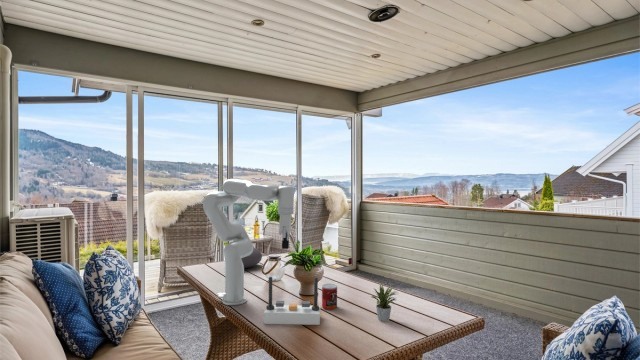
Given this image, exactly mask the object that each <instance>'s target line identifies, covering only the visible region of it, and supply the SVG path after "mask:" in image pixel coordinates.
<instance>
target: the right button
mask: <svg viewBox="0 0 640 360" xmlns="http://www.w3.org/2000/svg"><path fill="white" fill-rule="evenodd" d="M301 305H302V307H310V306H311V301H310V300H302V302H301Z"/></svg>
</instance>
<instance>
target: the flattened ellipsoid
mask: <svg viewBox="0 0 640 360" xmlns="http://www.w3.org/2000/svg"><path fill="white" fill-rule="evenodd" d="M262 259H263V254H262V252H261V250H259V249H258V248H256V247H254V246H253V251H252V253H251V254H250V255H249V256H246V257H243V258H241V260H242V262H243V265H244V269H248V268H252V267H255V266H256V265H258V264H259V263H260V262H261V261H262Z"/></svg>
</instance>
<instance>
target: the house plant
mask: <svg viewBox="0 0 640 360" xmlns="http://www.w3.org/2000/svg"><path fill="white" fill-rule="evenodd" d="M393 289H394V286H392V287H391V285H389V286H388V287H387V288H386V289H385V288H384V285H383V284H379V288H378V289H376V288H373V290H374V293H375V294H376V296H377V297H378V298H377V297H376V296H374V295H372V296H370V298H372V299H374V300H376V305H375V307H376V308H375V309H376V314H377V320H378V321H380V322H384V323H385V322H389V321H390V317H391V311H392V305H390V303H391V304H393V305H395V302H394V301H396V297H393V296H394V295H396V294H398V291H397V290H395V291H393V292H392V290H393ZM377 290H379V291H377Z"/></svg>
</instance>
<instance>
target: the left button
mask: <svg viewBox="0 0 640 360" xmlns="http://www.w3.org/2000/svg"><path fill="white" fill-rule="evenodd" d="M275 305H276V307H284V305H285V300H276V302H275Z"/></svg>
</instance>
